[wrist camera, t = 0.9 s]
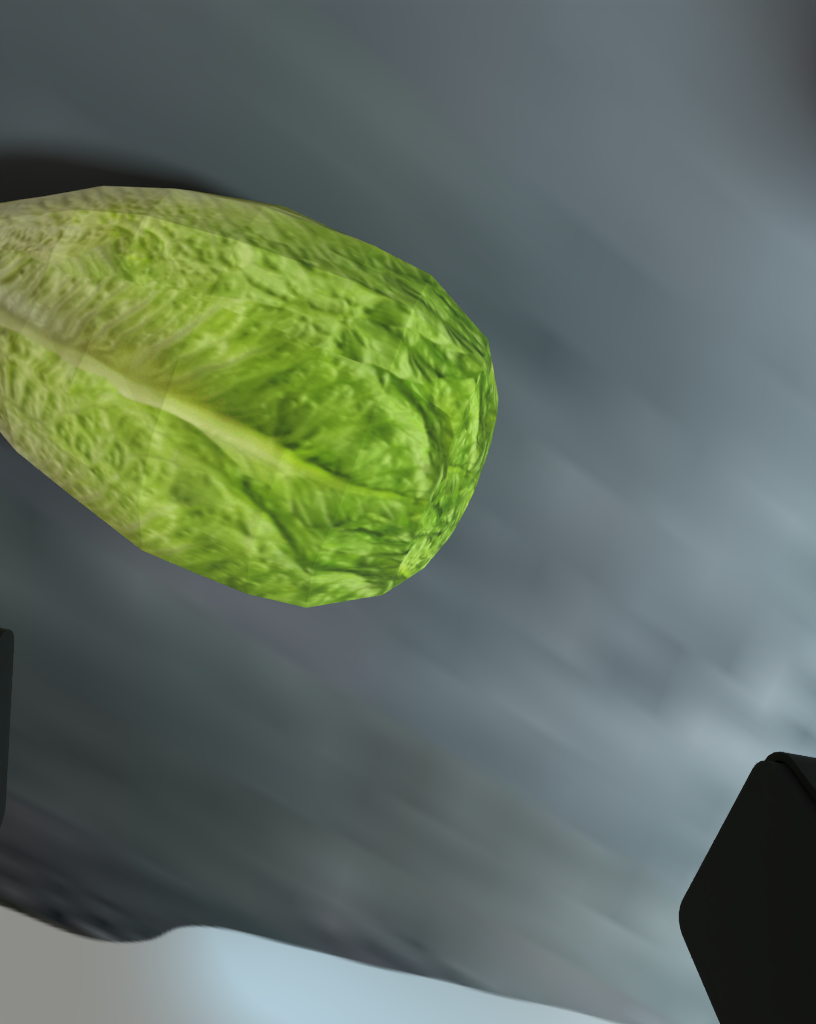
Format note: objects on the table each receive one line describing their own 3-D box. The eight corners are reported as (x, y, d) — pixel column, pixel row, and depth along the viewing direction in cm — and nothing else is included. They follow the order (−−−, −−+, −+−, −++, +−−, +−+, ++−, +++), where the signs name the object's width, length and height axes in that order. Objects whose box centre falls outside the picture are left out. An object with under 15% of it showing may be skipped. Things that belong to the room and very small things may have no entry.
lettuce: (-81, -40, 22) (-343, 357, 19) (587, 252, 24) (445, 659, 21) (55, 209, 35) (-90, 472, 32) (484, 389, 36) (387, 654, 33)
